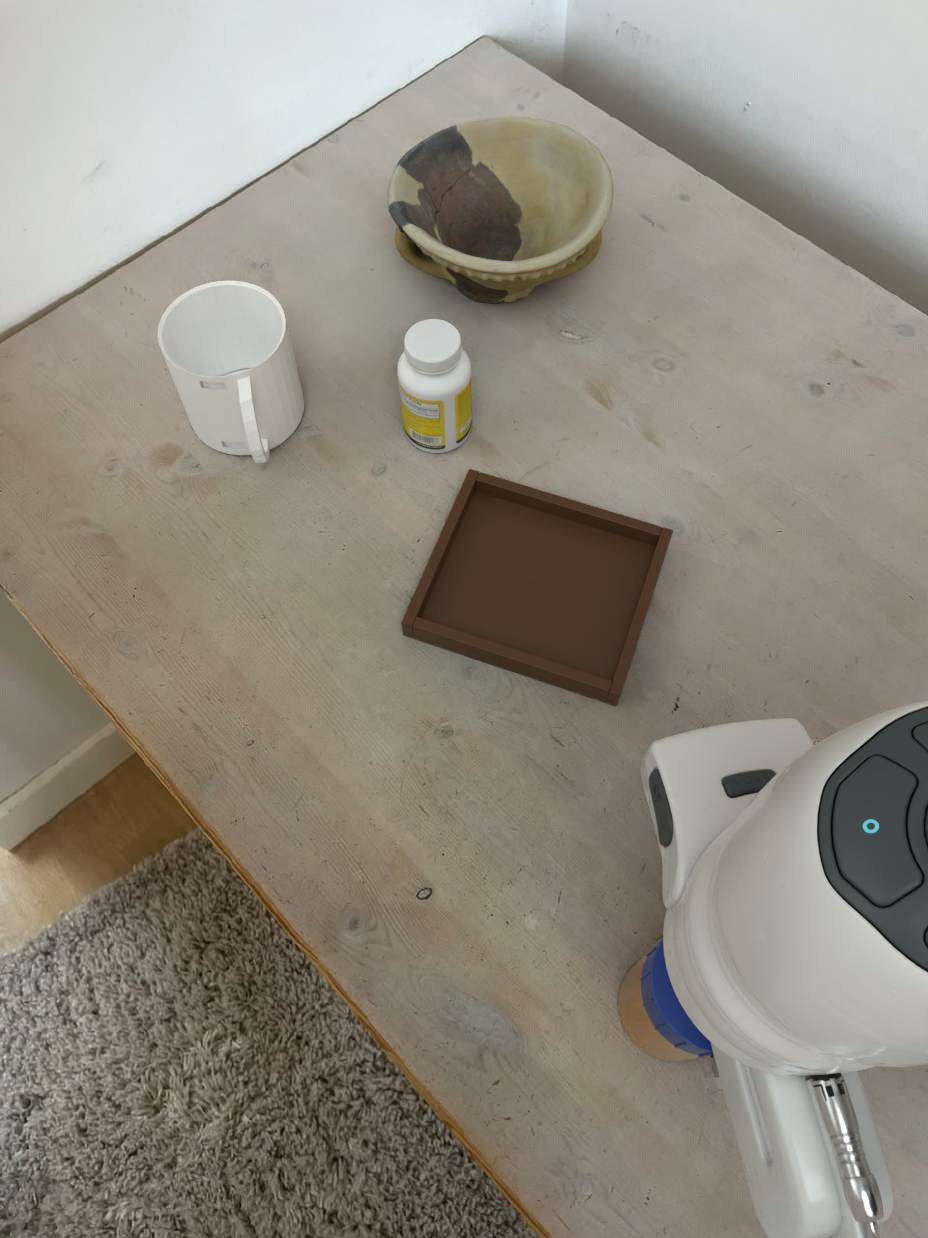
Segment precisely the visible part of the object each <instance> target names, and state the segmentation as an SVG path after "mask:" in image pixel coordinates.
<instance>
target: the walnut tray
mask: <svg viewBox="0 0 928 1238" xmlns="http://www.w3.org/2000/svg"><path fill="white" fill-rule="evenodd" d="M673 532H674V530H673V529H671V528H667V527H665V526H660V525H657V524H654V523H650V522H647V521H644V520H640V519H637V518H633V517H630V516H628V515H624V514H621V513H618V512H615V511H610V510H607V509H604V508H601V507H599V506H598V507H597V506H594V505H591V504H587V503H584V502H581V501H578V500H574V499H571V498H568V497H564V496H561V495H558V494H554V493H551V492H548V491H545V490H542V489H541V490H540V489H538V488H534V487H531V486H528V485H524V484H521V483H518V482H515V481H511V480H509V479H505V478H502V477H498V476H494V475H491V474H488V473H485V472H481V471H478V470H475V469H473V468H468V471H467V472H466V475H465V477H464V480H463V482H462V484H461V486H460V489H459V491H458V494H457V496H456V498H455V500H454V502H453V504H452V507H451V508H450V511H449V514H448V516H447V517H446V520H445V522H444V525H443V527H442V530H441V531H440V534H439V536H438V539H437V540H436V543H435V545H434V548H433V550H432V552H431V553H430V557H429V559H428V561H427V564H426V566H425V567H424V570H423V572H422V575H421V577H420V579H419V581H418V584H417V586H416V587H415V591H414V593H413V595H412V597H411V599H410V601H409V604H408V606H407V608H406V611H405V613H404V615H403V617H402V620H401V631H402V635H403V636H404V637H407V638H410V639H412V640H416V641H419V642H422V643H425V644H428V645H431V646H434V647H437V648H440V649H443V650H446V651H448V652H452V653H455V654H458V655H461V656H464V657H468V658H470V659H472V660H476V661H478V662H481V663H485V664H487V665H491V666H495V667H496V668H500V669H503V670H506V671H509V672H512V673H515V674H517V675H521V676H524V677H527V678H530V679H533V680H536V681H539V682H542V683H545V684H548V685H551V686H554V687H557V688H559V689H563V690H565V691H569V692H571V693H574V694H577V695H581V696H583V697H587V698H589V699H593V700H596V701H599V702H602V703H604V704H608V705H611V706H614V707H617V706H618V704H619V701H620V698H621V695H622V693H623V691H624V687H625V683H626V680H627V677H628V673H629V671H630V669H631V664H632V662H633V658H634V655H635V653H636V649H637V646H638V642H639V640H640V636H641V633H642V631H643V627H644V623H645V621H646V618H647V615H648V611H649V608H650V605H651V601H652V599H653V595H654V592H655V589H656V585H657V583H658V580H659V576H660V573H661V570H662V567H663V564H664V561H665V558H666V554H667V551H668V548H669V545H670V542H671V539H672V536H673Z"/></svg>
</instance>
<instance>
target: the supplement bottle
mask: <svg viewBox="0 0 928 1238" xmlns="http://www.w3.org/2000/svg"><path fill="white" fill-rule="evenodd" d="M403 344H404V345H403V347H404V351H403V352H402V354H401V355H400V357H399V359H398V362H397V368H396V369H397V371H396V372H397V373H396V374H397V382H398V383H397V384H398V393H399V401H400V402H399V403H400V408H401V409H400V410H401V418H402V425H403V426H402V427H403V431H404V434H405V437H406V438H407V440H408V441H409V442H410V443H411V444H412V445H413V446H414V447H415V448H417V449H418V450H421V451H423V452H426V453H429V454H444V453H448V452H451V451H453V450H456V449H458V448H459V447H460V446H461V445H463V444H464V443H465V442H466V441H467V440H468V438H469V436H470V434H471V431H472V426H473V412H472V411H473V409H472V407H473V406H472V404H473V403H472V397H473V396H472V364H471V360H470V358H469V355H468V354H467V353H466V351H465V350H464V348H463V347H462V339H461V334H460V332H459V330H458V329H457V328H456V327H455V326H454V324H452V323H450V322H449V321H446V320H443V319H440V318H439V319H438V318H429V319H422V320H420V321H417V322H416V323H414V324H413V325H412V326H411V327H409V329H408V330H407V331H406V333H405V335H404V342H403Z"/></svg>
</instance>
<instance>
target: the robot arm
mask: <svg viewBox="0 0 928 1238" xmlns="http://www.w3.org/2000/svg"><path fill="white" fill-rule="evenodd" d="M640 777H641V784H642V788H643V792H644V796H645V800H646V802H647V806H648V810H649V814H650V818H651V821H652V825H653V829H654V833H655V836H656V841H657V844H658V848H659V852H660V855H661V860H662V867H661V868H662V886H661V887H662V890H661V891H662V901H663V905H664V907H665V909H666V912H665V916H664V921H663V930H662V935H663V947H664V957H665V962H666V968H667V971H668V975H669V978H670V981H671V984H672V987H673V989H674V992H675V994H676V996H677V998H678V1000H679V1002H680V1004H681V1006H682V1007H683V1009H684V1010H685V1012H686V1014H687V1015H688V1017H689V1018H690V1019H691V1021H692V1022H693V1023H694V1025H695V1026H696V1027H697V1028H698V1029H699V1030H700V1032H701V1033H702V1034H703V1035H704V1036H705V1037H706V1038H707V1039H708V1040H709V1041H710V1042H711V1046H712V1050H713V1054H714V1055H711V1056H709V1060H710V1064H711V1065H710V1066H711V1068H712V1073H713V1077H714V1080H715V1085H716V1089H717V1090H722V1091H723V1092H722V1093H723V1096H724V1100H725V1102H726V1107H727V1110H728V1114H729V1118H730V1122H731V1127H732V1129H733V1134H734V1137H735V1142H736V1146H737V1149H738V1153H739V1156H740V1160H741V1164H742V1167H743V1171H744V1175H745V1179H746V1183H747V1187H748V1191H749V1195H750V1198H751V1202H752V1206H753V1209H754V1212H755V1215H756V1217H757V1219H758V1221H759V1223H760V1226H761V1228H762V1229H763V1231H764V1233H765V1234H766V1236H767V1238H882V1236H881V1234H880V1230H879V1226H880V1225H882V1224H884V1223H886V1222H887V1221H888V1220H889V1218H890V1217H891V1215H892V1213H893V1211H894V1206H895V1195H894V1194H895V1193H894V1192H895V1191H894V1184H893V1180H892V1176H891V1171H890V1167H889V1164H888V1159H887V1156H886V1153H885V1150H884V1147H883V1144H882V1141H881V1138H880V1134H879V1131H878V1128H877V1126H876V1122H875V1119H874V1115H873V1111H872V1109H871V1106H870V1103H869V1099H868V1097H867V1094H866V1091H865V1088H864V1085H863V1081H862V1079H861V1075H860V1072H861V1071H864V1070H869V1069H874V1068H878V1067H884V1068H907V1067H915V1066H923V1065H925V1066H926V1065H928V699H927V700H923V701H921V700H920V701H918V702H912V703H909V704H905V705H901V706H898V707H895V708H892V709H889V710H886V711H883V712H879V713H877V714H875V715H872V716H870V717H867V718H864V719H862V720H859V721H857V722H855V723H853V724H851V725H849V726H846V727H844V728H842V729H841V730H838V731H836V732H834V733H833V734H831V735H829V736H828V737H825V738H824V739H822V740H821V741H819V742H817V743H815V744H814V742H813V741H812V738H811V737H810V734H809V733H808V732H807V730H806V728H805V727H804V725H803V724H802V723H801V721H799V720H798V719H797V718H793V717H790V718H789V717H788V718H787V717H785V718H784V717H783V718H766V719H764V718H763V719H753V720H742V721H741V720H740V721H735V722H734V721H733V722H727V723H721V724H715V725H710V726H705V727H700V728H696V729H691V730H687V731H683V732H680V733H676V734H672V735H669V736H666V737H662V738H660V739H656V740H654V741H652V742H651V743H650V744H649V746H648V748H647V749H646V751H645V752H644V754H643V756H642V759H641V762H640Z"/></svg>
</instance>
